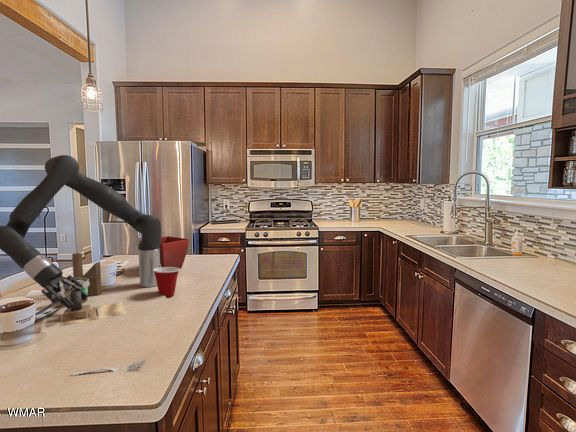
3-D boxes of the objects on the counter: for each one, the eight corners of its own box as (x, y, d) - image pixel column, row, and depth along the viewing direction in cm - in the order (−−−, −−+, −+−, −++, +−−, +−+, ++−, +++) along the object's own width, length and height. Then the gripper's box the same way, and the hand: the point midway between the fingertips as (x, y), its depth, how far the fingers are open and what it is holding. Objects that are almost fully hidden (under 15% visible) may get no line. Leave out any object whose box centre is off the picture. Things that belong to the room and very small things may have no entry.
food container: (98, 302, 138) (96, 278, 137) (84, 308, 132) (83, 282, 131) (75, 299, 142) (74, 275, 141) (61, 304, 136) (59, 279, 135)
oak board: (122, 305, 134) (122, 302, 134) (127, 317, 123) (126, 313, 122) (61, 316, 124) (61, 312, 124) (60, 330, 112) (60, 326, 112)
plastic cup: (186, 293, 149) (185, 266, 148) (167, 301, 139) (166, 272, 138) (167, 290, 154) (166, 264, 152) (148, 297, 144) (147, 269, 143)
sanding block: (90, 311, 125) (89, 288, 124) (86, 318, 118) (84, 294, 117) (68, 313, 122) (66, 290, 122) (62, 321, 116) (61, 296, 115)
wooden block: (97, 295, 147) (95, 254, 145) (72, 295, 147) (69, 254, 145) (102, 292, 151) (99, 252, 149) (77, 292, 150) (74, 252, 148)
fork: (45, 376, 86) (44, 369, 86) (146, 364, 92) (146, 358, 92) (38, 383, 83) (38, 376, 83) (144, 371, 89) (144, 364, 88)
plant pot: (190, 268, 194) (190, 238, 193) (162, 275, 178) (161, 243, 176) (168, 263, 204) (167, 235, 203) (140, 270, 188) (138, 240, 187)
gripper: (36, 268, 111) (74, 302, 113) (63, 258, 125) (96, 288, 127) (20, 284, 111) (59, 318, 113) (49, 273, 125) (83, 302, 127)
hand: (79, 302), depth 120 cm, fingers open, 8 cm apart
